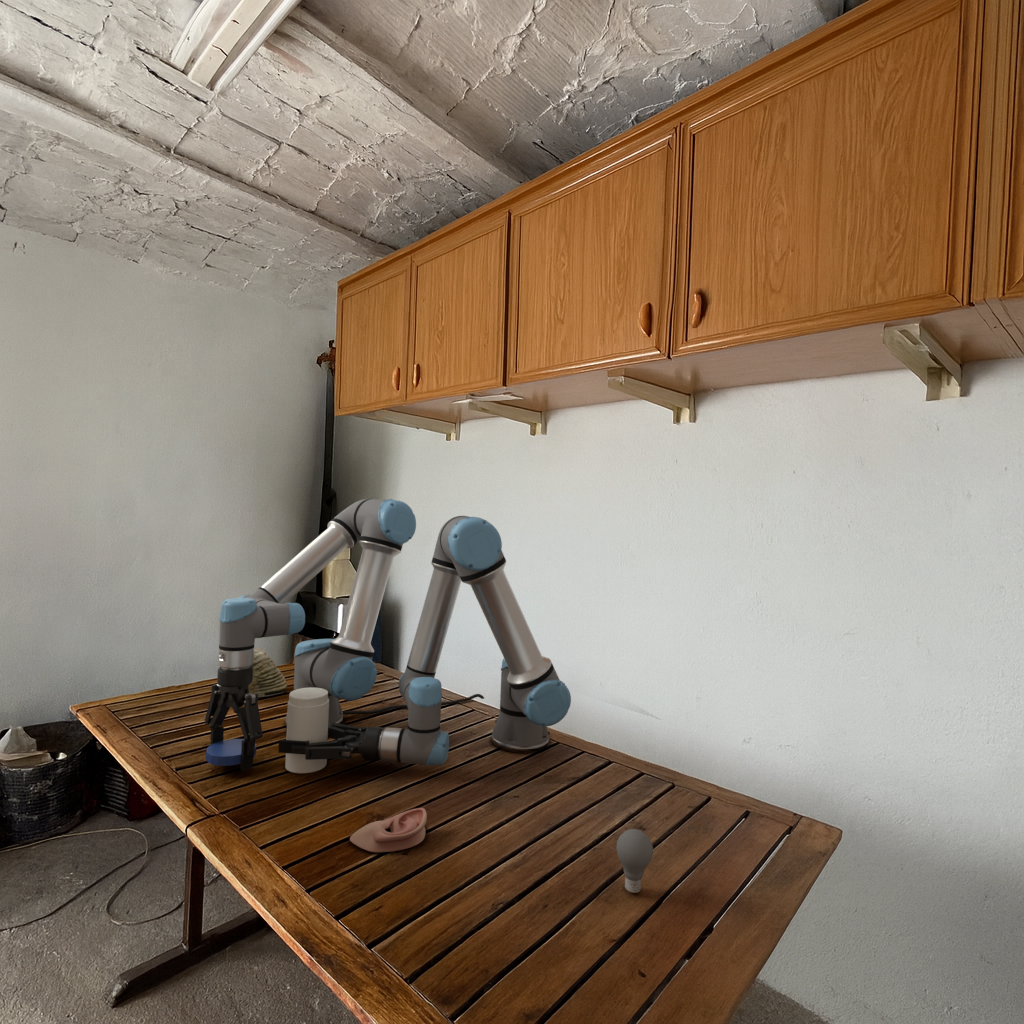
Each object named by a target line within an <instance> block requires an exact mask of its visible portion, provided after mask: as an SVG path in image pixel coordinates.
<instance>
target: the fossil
mask: <svg viewBox="0 0 1024 1024" xmlns="http://www.w3.org/2000/svg"><path fill="white" fill-rule="evenodd" d="M251 666H252V667H253V681H252V682H251V683H250V684H249V686H248V689H249V693H251V694H255V693H257V694H258V698H264V697H271V696H275V695H281V694H284V693H285V691H286V689H287V687H288V686H287V680H286V678H285V676H284V674H283V673H282V672H281V669H279V668H278V667H277V665H276V663H275V662H274V660H273V659H272V658H271V657H270V656H269V655H268V654H267V653H266V652H265V650H264V649H263V648H260V647H258V648H254V663H253V664H252V665H251Z"/></svg>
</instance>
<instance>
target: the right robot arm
mask: <svg viewBox="0 0 1024 1024" xmlns="http://www.w3.org/2000/svg"><path fill="white" fill-rule="evenodd" d="M437 535H438V536H437V539H436V543H435V547H434V551H433V556H432V559H431V565H432V567H433V570H432V574H431V578H430V581H429V585H428V588H427V592H426V595H425V598H424V603H423V607H422V609H421V612H420V617H419V620H418V624H417V626H416V627H417V628H416V632H415V634H414V638H413V642H412V646H411V649H410V653H409V656H408V660H407V664H406V667H405V670H404V672H403V673H402V674H401V675H400V676H399V679H398V690H399V691H398V692H399V693H400V696H401V697H402V699H403V700H404V702H405V705H407V707H408V708H407V711H408V712H407V728H400V727H390V726H389V727H388V726H387V727H385V728H384V727H382V726H368V727H367V726H356V725H350V724H345V723H341V724H338V723H330V725H328V739H332V740H329V741H327V742H318V743H309V740H308V741H294V740H286V739H279V740H278V753H280V754H286V753H291V754H305V759H306V760H315V759H327V760H346V761H349V760H351V758H352V757H351V756H352V755H355V754H360V755H361V757H362V760H364V761H366V762H379V761H381V762H383V763H384V762H385V763H391V764H392V765H396V764H397V763H398V764H410V765H421V766H426V767H427V766H442V765H444V764H446V762H447V760H448V757H449V752H450V751H449V750H450V734H449V732H448V731H444V730H441V718H442V717H441V714H442V705H441V702H442V699H443V693H442V682H441V681H440V679H438V678H435V677H436V673H437V669H438V665H439V662H440V658H441V655H442V652H443V648H444V645H445V640H446V637H447V635H448V629H449V627H450V623H451V619H452V615H453V612H454V608H455V605H456V602H457V598H458V595H459V591H460V587H461V584H462V583H463V584H466V585H469V586H470V587H471V589H472V591H473V594H474V596H475V598H476V600H477V602H478V605H479V607H480V609H481V612H482V614H483V615H484V617H485V620H486V623H487V624H488V626H489V629H490V630H491V632H492V635H493V637H494V639H495V641H496V643H497V646H498V648H499V650H500V652H501V654H502V656H503V658H502V660H501V668H500V672H501V673H500V693H499V697H500V699H499V702H500V703H499V712H498V715H497V719H495V721H494V727H493V729H492V732H491V743H492V745H494V746H495V747H496V748H498V749H500V750H503V751H506V752H511V753H519V754H520V753H521V754H526V753H529V754H530V753H537V752H540V751H542V750H545V749H546V748H548V746H549V744H550V735H551V732H550V731H549V730H548V727H552V726H554V725H556V724H558V723H560V722H561V721H562V720H563V719H564V718H565V717H566V716H567V714H568V712H569V709H570V707H571V703H572V695H571V692H570V690H569V688H568V686H567V685H566V683H565V682H563V681H562V680H561V679H560V678H559V675H558V673H557V670H556V669H555V667H554V664H553V662H552V660H551V658H550V657H547V656H544V655H542V653H541V651H540V649H539V646H538V644H537V642H536V639H535V637H534V635H533V633H532V631H531V629H530V626H529V624H528V622H527V619H526V617H525V615H524V613H523V611H522V608H521V606H520V604H519V601H518V599H517V598H516V595H515V593H514V591H513V588H512V586H511V583H510V581H509V579H508V576H507V575H506V573H505V570H504V569H505V566H506V564H507V559H506V558H505V554H504V552H503V550H502V547H503V541H502V537H501V535H500V533H499V531H498V529H497V528H496V527H495V526H494V525H493V524H492V523H491V522H490V521H488V520H486V519H484V518H482V517H478V516H467V515H457V516H454V517H451V518H450V519H448V520H447V521H446V522H445V523H444V524H443V525H442V526H441V528H440V530H439V533H438V534H437Z"/></svg>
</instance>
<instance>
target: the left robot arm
mask: <svg viewBox="0 0 1024 1024" xmlns="http://www.w3.org/2000/svg"><path fill="white" fill-rule="evenodd" d="M416 519H417V518H416V515H415V513H414V511H413V508H412V507H410V505H409V504H407V503H406V502H404V501H401V500H397V499H392V498H388V499H383V498H382V499H378V498H363V499H360V500H357V501H355V502H354V503H352V504H350V505H349V506H347V507H346V508H345V509H343V510H342V511H341V512H339V513H338V514H337V515H336V516H334V517H333V518H332V519H331V520H329V521H328V523H327V528H326V529H325V530H324V531H322V532H321V533H320V534H319V535H318V536H317V537H316V538H315V539H313V540H312V541H311V542H310V543H309V544H308V545H306V546H305V547H304V548H303V549H302V550H301V551H299V552H298V553H297V554H295V556H294V557H292V558H291V559H290V560H289V561H288V562H287V563H286V564H285V565H283V566H282V567H281V568H280V569H279V570H277V572H276V573H274V574H273V575H272V576H271V577H270V578H268V579H267V580H266V581H265V582H264V583H263V584H261V585H260V586H259V587H258V588H257V589H256V590H254V591H253V592H252V593H250V594H243V595H240V596H239V597H232V598H226V599H225V600H223V601H222V603H221V607H220V613H219V618H218V620H219V637H218V639H219V640H218V642H219V643H218V658H217V659H218V661H217V666H219V667H218V669H217V673H216V674H217V675H216V683H217V684H212V685H211V692H210V693H211V695H210V698H209V702H208V706H207V710H206V714H205V718H204V724H205V725H208V727H209V729H210V738H209V740H210V745H212V744H214V743H216V742H220V741H224V736H225V735H224V733H225V727H224V725H225V724H224V720H225V718H226V717H227V715H228V712H229V711H230V709H233V713H235V714H236V717H237V718H238V719H237V720H238V723H239V726H240V729H241V732H242V736H243V739H244V740H242V746H241V764H240V769H239V770H240V771H245V770H249V769H252V768H253V767H254V758H253V756H254V752H255V743H256V741H257V740H259V739H262V738H263V728H262V722H261V721H262V720H261V715H260V709H259V697H258V694H257V693H255V694H251V693H249V689H248V686H249V684H250V683H251V682H252V681H253V667H252V666H251V665H252V664H253V663H254V649H255V642H256V639H263V638H271V637H279V636H289V635H295V634H298V633H300V632H301V631H303V629H304V628H305V624H306V613H305V609H304V608H303V606H302V605H301V604H300V603H298V602H288V601H289V600H290V599H291V598H292V597H294V596H295V595H296V594H297V593H298V592H299V591H301V589H303V588H304V587H305V586H306V585H307V584H308V583H309V582H310V581H312V580H313V579H314V578H315V577H316V576H317V575H318V574H319V573H321V571H322V570H324V569H325V568H326V567H327V566H328V565H329V564H330V563H331V562H332V561H333V560H335V559H336V558H337V557H338V556H339V555H340V554H341V553H342V552H343V551H345V550H346V549H352V548H353V547H355V545H357V544H358V543H359V545H360V547H361V548H362V551H361V556H360V559H359V561H358V566H357V569H356V573H355V576H354V580H353V583H352V587H351V591H350V594H349V598H348V601H347V605H346V608H345V612H344V616H343V620H342V622H341V626H340V630H339V633H338V636H336V638H318V639H308V640H304V641H300V642H299V643H297V644H296V646H295V650H294V655H293V657H294V672H293V673H294V674H293V691H294V690H297V689H301V688H322V689H325V690H327V691H328V699H329V715H328V725H330V723H338V724H343V722H344V715H345V716H347V715H372V714H373V715H374V714H378V713H382V712H385V711H391V710H395V709H406V708H407V709H408V707H407V705H406V704H396V705H389V706H385V707H381V708H378V709H371V710H343V709H342V706H341V702H340V700H344V701H349V702H353V701H357V700H359V699H362V698H363V697H364V696H366V695H367V694H368V693H369V692H370V691H371V689H372V688H373V687H374V685H375V683H376V680H377V675H378V671H377V670H378V669H377V667H376V664H375V662H374V661H373V657H374V654H375V649H374V648H373V646H372V639H373V635H374V632H375V628H376V624H377V620H378V617H379V612H380V610H381V606H382V602H383V598H384V595H385V591H386V588H387V585H388V584H387V583H388V581H389V580H388V579H389V576H390V572H391V569H392V566H393V562H394V558H395V557H396V556H398V555H399V554H401V553H402V550H403V545H404V544H406V543H408V542H409V541H410V540H411V539H412V538H413V537H414V536H415V533H416V529H417V520H416ZM464 698H465V699H464ZM464 698H459V699H454V700H449V701H448V700H447V701H441V706H448V705H449V706H450V705H454V704H459V703H465V702H468V701H471V700H473V699H475V698H480V699H482V700H484V699H485V697H484V695H483V694H481V693H475V694H473V695H472V694H471V696H468V697H464ZM285 726H286V727H287V714H286V715H285Z"/></svg>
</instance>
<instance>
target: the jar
mask: <svg viewBox="0 0 1024 1024" xmlns="http://www.w3.org/2000/svg"><path fill="white" fill-rule="evenodd" d="M286 709H287V710H286V711H287V713H286V715H287V726H286V736H285V737H286V739H285V740H294V741H308V740H309V743H318V742H327V741H328V739H329V738H328V715H329V699H328V691H327V690H325V689H322V688H301V689H297V690H294V689H293V690H292V691H290V692H289V694H288V700H287V708H286ZM327 762H328V759H315V760H306V759H305V754H291V753H285V763H284V764H285V767H284V768H285V770H287V771H288V772H290V773H294V774H311V773H315V772H318V771H321V770H323V769H324V768H326V766H327V764H328V763H327Z"/></svg>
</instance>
